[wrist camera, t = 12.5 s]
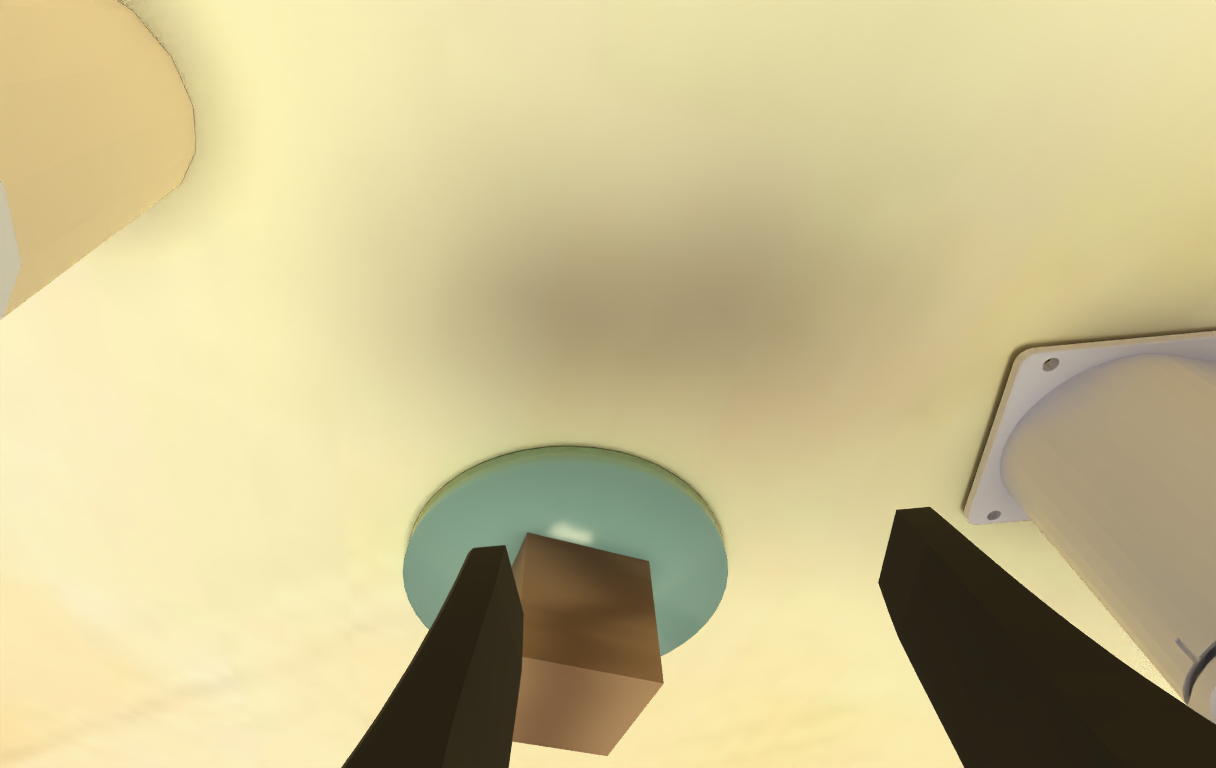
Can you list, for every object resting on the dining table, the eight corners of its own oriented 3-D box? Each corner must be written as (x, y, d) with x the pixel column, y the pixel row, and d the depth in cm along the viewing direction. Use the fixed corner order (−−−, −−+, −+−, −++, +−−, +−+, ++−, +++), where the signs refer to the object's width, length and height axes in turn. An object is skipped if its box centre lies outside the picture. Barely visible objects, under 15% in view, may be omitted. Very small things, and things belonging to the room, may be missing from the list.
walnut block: (649, 561, 24) (663, 683, 20) (602, 633, 26) (607, 755, 22) (527, 532, 23) (515, 655, 19) (491, 611, 25) (473, 735, 21)
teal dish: (726, 430, 22) (732, 448, 21) (720, 644, 29) (724, 664, 28) (367, 463, 22) (358, 482, 21) (450, 668, 29) (446, 688, 28)
